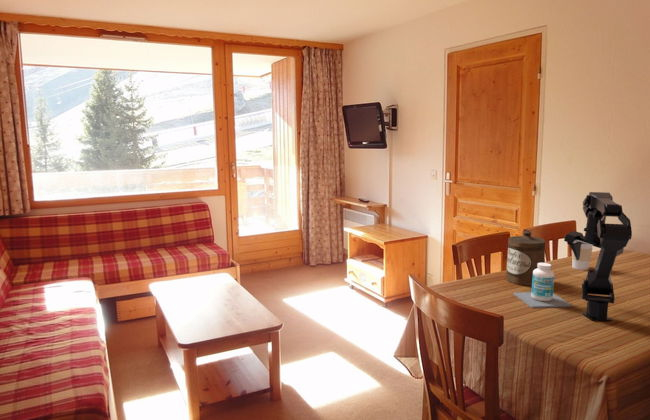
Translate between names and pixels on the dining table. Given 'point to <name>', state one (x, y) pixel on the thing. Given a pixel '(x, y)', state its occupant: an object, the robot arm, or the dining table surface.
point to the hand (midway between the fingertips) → (590, 264)
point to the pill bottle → (543, 282)
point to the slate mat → (541, 304)
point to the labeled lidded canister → (524, 258)
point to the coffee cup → (582, 257)
